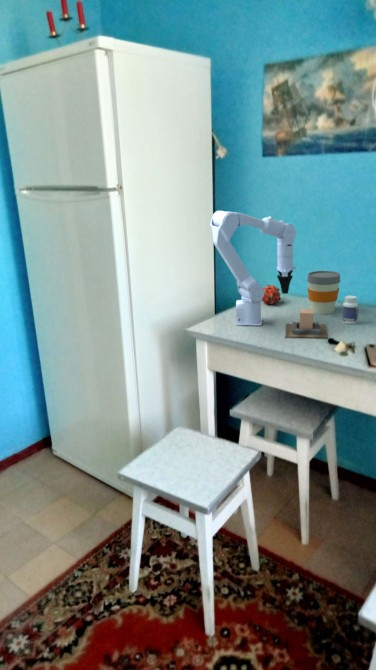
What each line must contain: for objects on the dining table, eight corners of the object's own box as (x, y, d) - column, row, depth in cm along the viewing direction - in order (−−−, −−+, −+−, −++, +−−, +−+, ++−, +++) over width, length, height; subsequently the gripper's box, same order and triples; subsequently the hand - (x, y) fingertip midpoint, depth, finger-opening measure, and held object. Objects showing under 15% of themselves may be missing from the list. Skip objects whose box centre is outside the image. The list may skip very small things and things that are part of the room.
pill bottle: (357, 324, 176) (359, 298, 173) (342, 324, 177) (344, 298, 174) (356, 320, 181) (357, 294, 178) (341, 319, 182) (342, 294, 179)
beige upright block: (299, 332, 170) (300, 313, 168) (299, 327, 175) (299, 309, 172) (312, 332, 170) (313, 313, 167) (312, 328, 174) (312, 309, 171)
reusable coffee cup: (306, 305, 201) (307, 270, 196) (338, 306, 198) (340, 270, 193) (305, 315, 190) (306, 277, 185) (339, 316, 186) (341, 278, 181)
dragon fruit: (272, 302, 214) (271, 314, 204) (256, 292, 213) (255, 303, 202) (283, 288, 210) (284, 299, 200) (267, 277, 209) (267, 288, 198)
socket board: (285, 337, 167) (285, 332, 167) (286, 324, 180) (286, 319, 179) (327, 338, 164) (327, 333, 164) (324, 325, 177) (325, 320, 176)
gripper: (296, 259, 174) (295, 295, 179) (296, 251, 187) (295, 285, 192) (276, 259, 175) (276, 295, 180) (277, 252, 189) (277, 285, 193)
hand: (285, 290), depth 186 cm, fingers open, 7 cm apart
